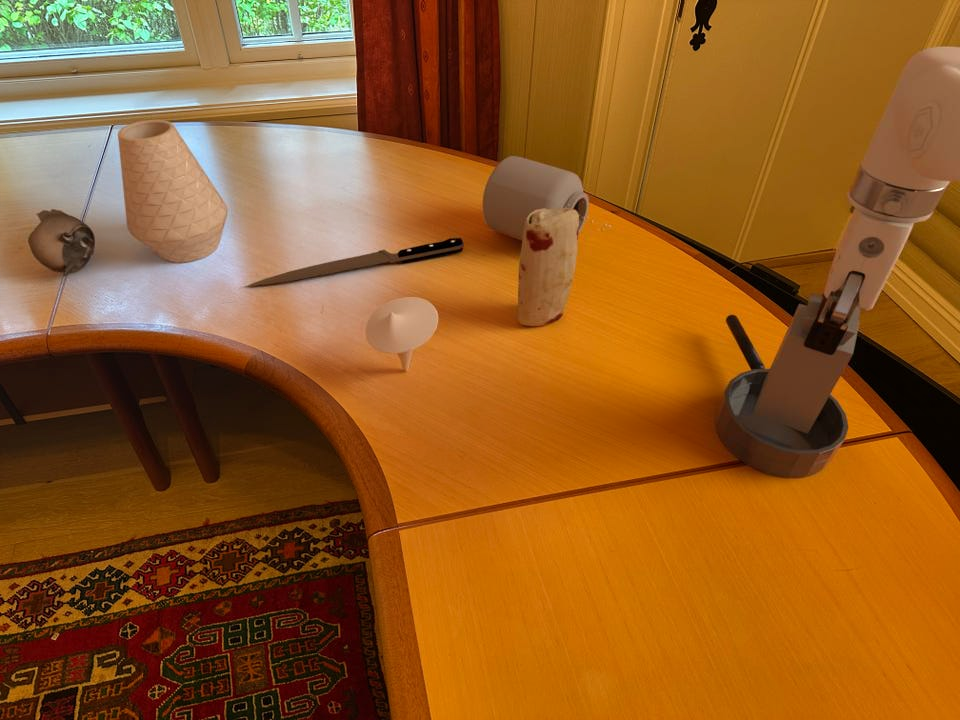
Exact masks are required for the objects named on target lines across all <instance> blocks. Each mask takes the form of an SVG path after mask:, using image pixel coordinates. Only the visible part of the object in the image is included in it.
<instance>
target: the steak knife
mask: <svg viewBox="0 0 960 720" xmlns="http://www.w3.org/2000/svg"><path fill="white" fill-rule="evenodd" d="M464 247H465V243H464V242H463V239H462V238H461V237H452V238H451V237H450V238H447V239H445V240H442V241H437V242H431V243H426V244H421V245H416V246H413V247H408V248H403V249H400V250H398V251H397V253H391V252H389V251H387V250H386V249H381V250H378V251H375V252H371V253H367V254H361V255H357V256H352V257H348V258H342V259H336V260H333V261H328V262H323V263H318V264H314V265H309V266H306V267H302V268H297V269H293V270H289V271H286V272H283V273H280V274H276V275H273V276H270V277H266V278H263V279H261V280H258V281H255V282H253V283H250V284H248V285H245V286H244V287H256V286H266V285H274V284H281V283H287V282H294V281H299V280H303V279H309V278H314V277H319V276H323V275H324V276H325V275H329V274H334V273H339V272H344V271H349V270H354V269H359V268H365V267H370V266H375V265H379V264H385V263H390V264H391V263H396V262H400V263H401V264H403V265H404V264H408V263H414V262H419V261H424V260H428V259H434V258H439V257H443V256H444V257H445V256H450V255H453V254H459V253H461V252H463V251H464Z"/></svg>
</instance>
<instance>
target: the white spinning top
mask: <svg viewBox="0 0 960 720" xmlns="http://www.w3.org/2000/svg"><path fill="white" fill-rule="evenodd" d="M438 325H439V314H438V310H437V309H436V307H435V306H434V305H433V303H431V302H430V301H428V300H427V299H424V298H422V297H417V296H403V297H398V298H394V299H392V300H389V301H387V302H385V303H384V304H382V305H380V306H379V307H378V308H377V309H375V310H374V312H372V314H371V316H370V317H369V318H368V320H367V322H366V324H365V328H364V329H365V332H364V334H365V339H366V341H367V343H368V345H370V346H371V347H372V348H373V349H375V350H376V351H377V352H381V353H385V354H390V355H391V354H393V355H394V354H395V355H396V354H397V356H398V357H399V360H400V364H401V367H402V370H403V371H404V372H405V373H408V371H409V369H410V363H411V359H412V356H413V353H414V352H413V351H414V350H415V349H417V348H419V347H421V346H422V345H424V344H425V343H427V341H429V340H430V339H431V338H432V336H433V335H434V333H435V332H436V329H437V327H438Z"/></svg>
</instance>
